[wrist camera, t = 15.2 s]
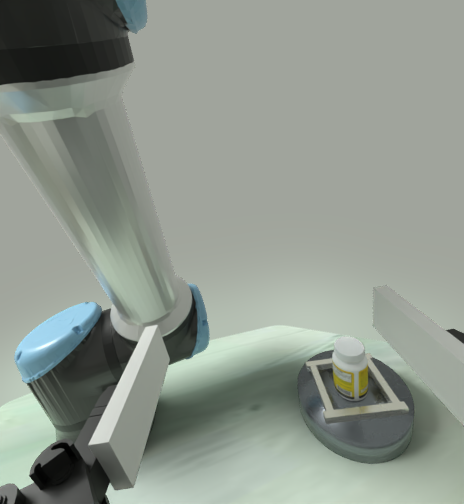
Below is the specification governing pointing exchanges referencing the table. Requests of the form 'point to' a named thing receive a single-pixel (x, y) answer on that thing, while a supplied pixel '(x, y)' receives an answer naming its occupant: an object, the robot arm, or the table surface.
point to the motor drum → (357, 411)
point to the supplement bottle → (350, 368)
